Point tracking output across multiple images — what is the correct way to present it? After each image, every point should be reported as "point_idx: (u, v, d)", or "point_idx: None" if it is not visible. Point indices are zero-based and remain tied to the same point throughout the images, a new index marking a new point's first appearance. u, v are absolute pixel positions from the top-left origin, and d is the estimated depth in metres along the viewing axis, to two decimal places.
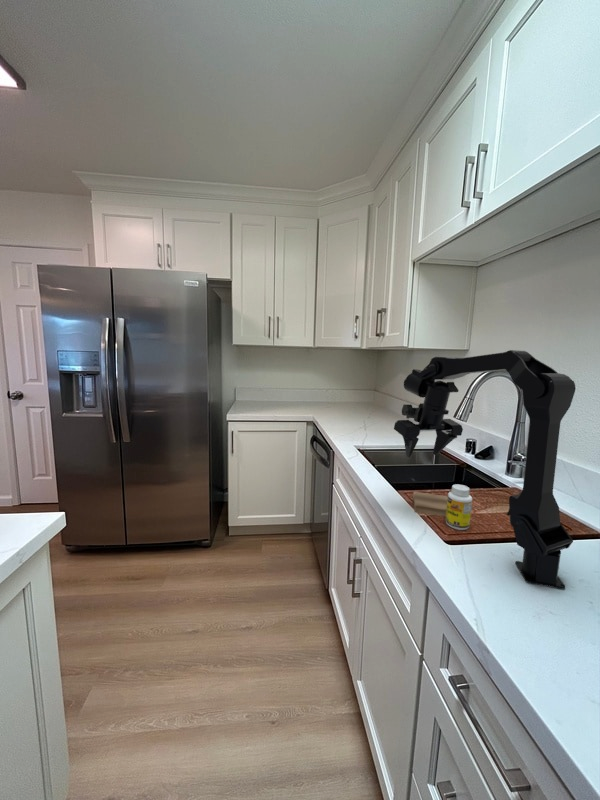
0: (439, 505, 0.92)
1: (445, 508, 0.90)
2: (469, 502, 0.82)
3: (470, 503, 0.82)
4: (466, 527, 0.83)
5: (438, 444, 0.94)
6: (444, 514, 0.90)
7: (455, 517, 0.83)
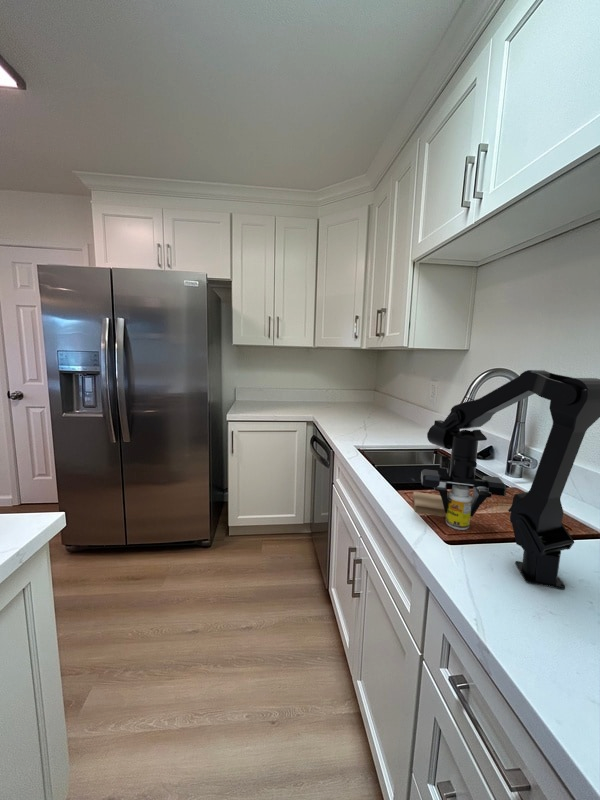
0: (439, 505, 0.92)
1: None
2: (469, 502, 0.82)
3: (470, 503, 0.82)
4: (466, 527, 0.83)
5: (473, 504, 0.83)
6: (444, 514, 0.90)
7: (455, 517, 0.83)
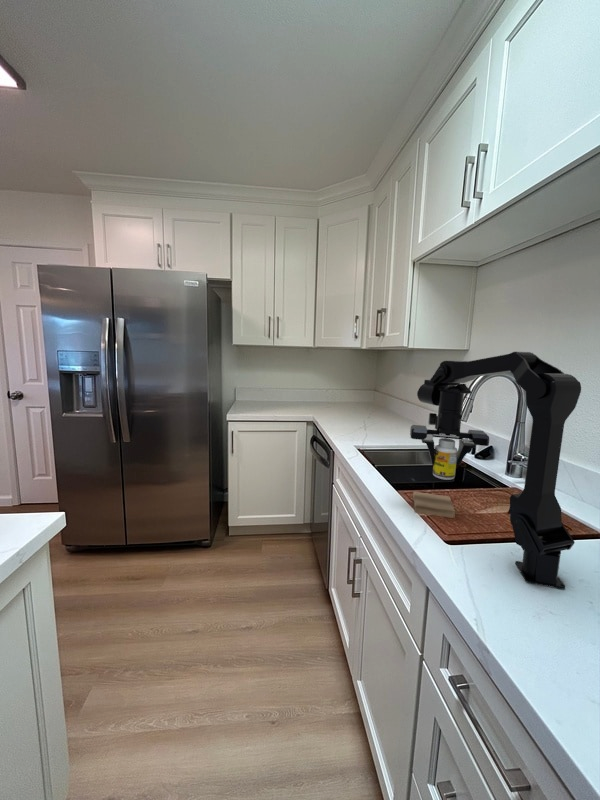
0: (439, 505, 0.92)
1: (445, 508, 0.90)
2: (454, 453, 0.87)
3: (455, 454, 0.87)
4: (451, 477, 0.88)
5: (458, 455, 0.88)
6: (444, 514, 0.90)
7: (441, 467, 0.88)
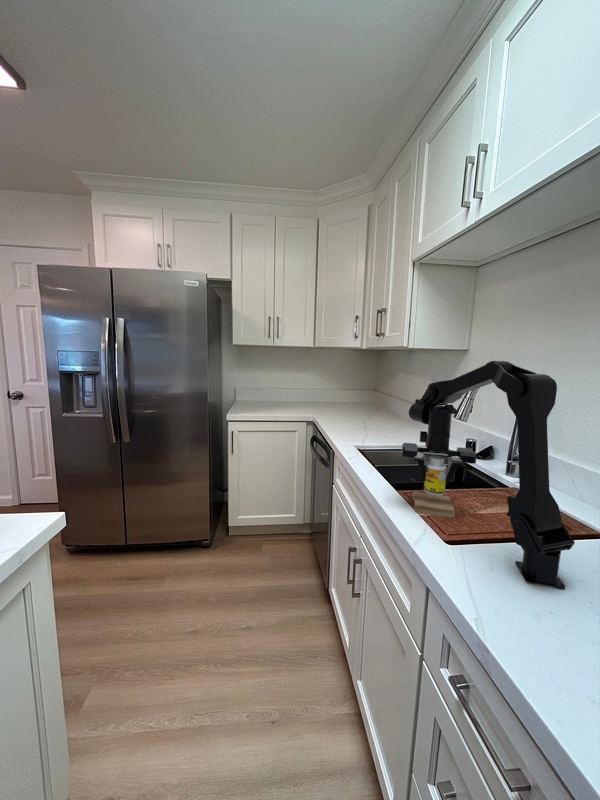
0: (439, 505, 0.92)
1: (445, 508, 0.90)
2: (444, 470, 0.91)
3: (445, 471, 0.92)
4: (441, 493, 0.92)
5: (448, 472, 0.93)
6: (444, 514, 0.90)
7: (431, 484, 0.92)
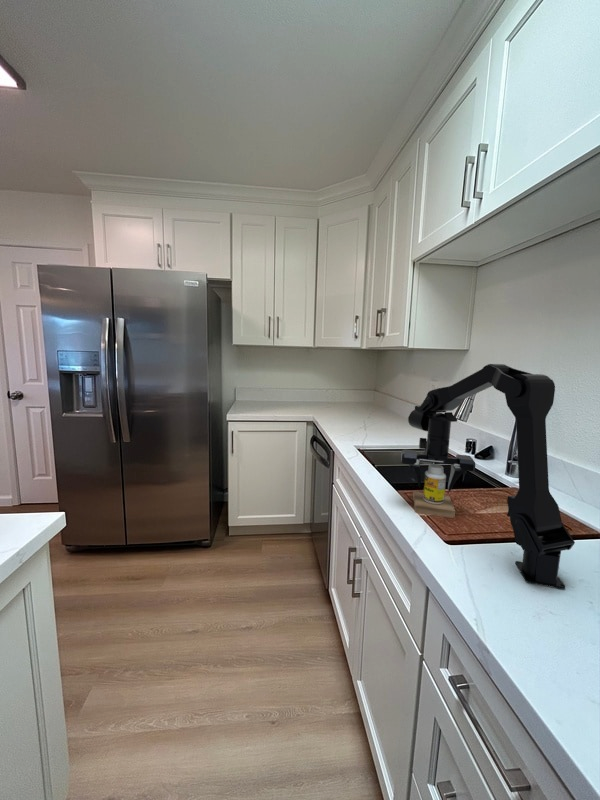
0: (439, 505, 0.92)
1: (445, 508, 0.90)
2: (443, 479, 0.92)
3: (444, 480, 0.92)
4: (440, 502, 0.92)
5: (450, 480, 0.93)
6: (444, 514, 0.90)
7: (430, 492, 0.92)
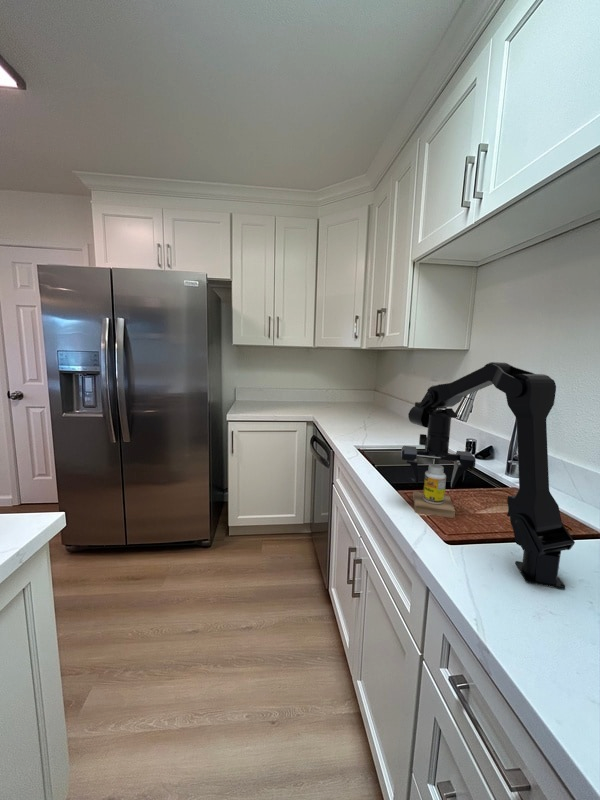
0: (439, 505, 0.92)
1: (445, 508, 0.90)
2: (443, 479, 0.92)
3: (444, 480, 0.92)
4: (440, 502, 0.92)
5: (453, 476, 0.93)
6: (444, 514, 0.90)
7: (430, 492, 0.92)
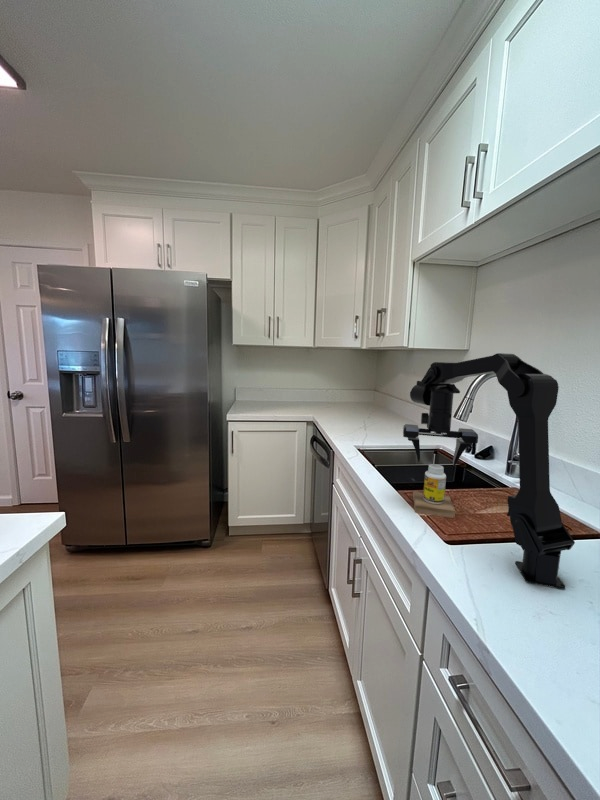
0: (439, 505, 0.92)
1: (445, 508, 0.90)
2: (443, 479, 0.92)
3: (444, 480, 0.92)
4: (440, 502, 0.92)
5: (455, 454, 0.92)
6: (444, 514, 0.90)
7: (430, 492, 0.92)
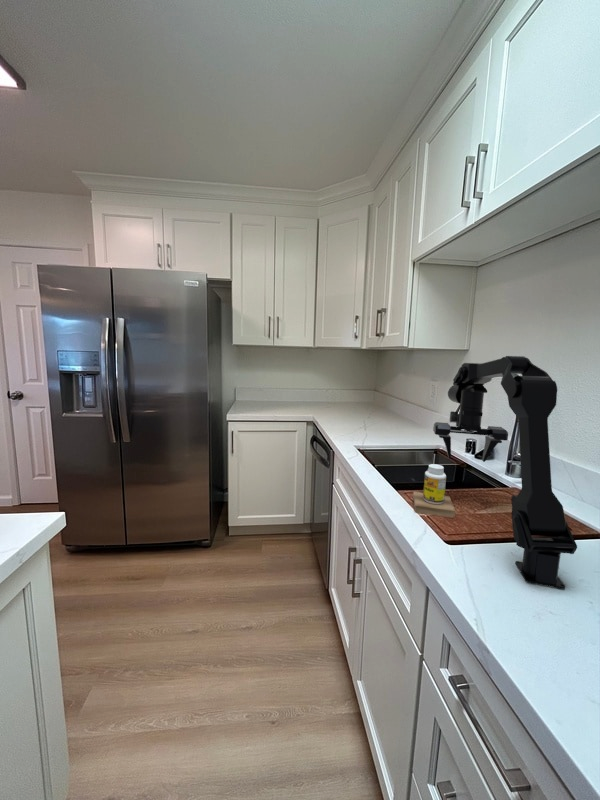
0: (439, 505, 0.92)
1: (445, 508, 0.90)
2: (443, 479, 0.92)
3: (444, 480, 0.92)
4: (440, 502, 0.92)
5: (485, 450, 0.96)
6: (444, 514, 0.90)
7: (430, 492, 0.92)
